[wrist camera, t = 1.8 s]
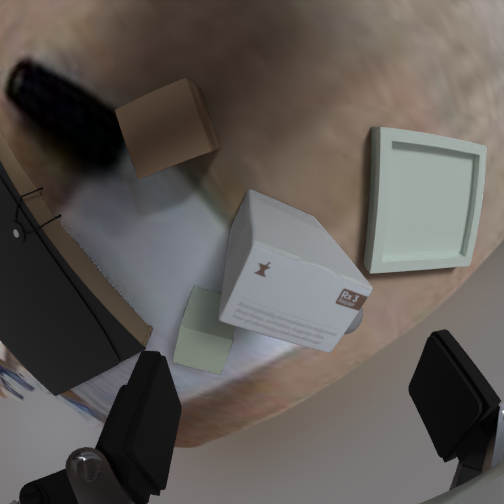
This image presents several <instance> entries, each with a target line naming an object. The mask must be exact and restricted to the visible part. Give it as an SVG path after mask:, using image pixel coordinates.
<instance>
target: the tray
mask: <svg viewBox="0 0 504 504" xmlns="http://www.w3.org/2000/svg"><path fill="white" fill-rule="evenodd" d="M486 151H487V146H484V145H480V144H476V143H472V142H468V141H463V140H459V139H454V138H449V137H444V136H439V135H434V134H428V133H422V132H416V131H409V130H402V129H394V128H386V127H371V179H370V198H369V212H368V225H367V235H366V245H365V254H364V262H363V265H364V266H365V268H366V269H367V270H368V271H369V273H370V274H372V273H387V272H400V271H414V270H426V269H438V268H449V267H460V266H470V263H471V259H472V254H473V250H474V246H475V241H476V236H477V231H478V225H479V219H480V213H481V206H482V199H483V191H484V181H485V169H486Z"/></svg>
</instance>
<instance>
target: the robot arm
mask: <svg viewBox="0 0 504 504" xmlns="http://www.w3.org/2000/svg"><path fill="white" fill-rule="evenodd" d="M409 394H410V396H411V398H412V400H413V402H414V404H415V406H416V408H417V410H418V412H419V414H420V416H421V418H422V420H423V423H424V424H425V427H426V429H427V431H428V433H429V435H430V437H431V440H432V442H433V444H434V447H435V449H436V451H437V453H438V455H439V456H440V457H441V458H443V460H444V462H447V461H450V460H452V459H454V458H456V457H458V459H459V462H458V465H457V469H456V472H455V475H454V478H453V481H452V484H451V486H450V489H449V491H448V492H445V493H443V494H441V495H439V496H437V497H434V498H432V499H430V500H427V501H425V502H422V503H420V504H504V404H503V405H502V406H501V407H500V406H499V403H500V402H501V400H500V398H499V397H498V396H497V394H496V393H495V391H494V390H493V388H492V387H491V386H490V384H489V383H488V381H487V380H486V379H485V377H484V376H483V375H482V373H481V372H480V370H479V369H478V368H477V366H476V365H475V364H474V363H473V361H472V360H471V359H470V358H469V356H468V355H467V353H466V352H465V351H464V350H463V348H462V347H461V346H460V345H459V343H458V342H457V341H456V340H455V338H454V337H453V336H452V335H451V334H450V332H449V331H448V330H445V329H444V330H440V331H435V332H432V333H431V335H430V337H428V339H427V341H426V344H425V347H424V349H423V352H422V355H421V357H420V360H419V363H418V365H417V368H416V370H415V373H414V375H413V377H412V379H411V382H410V385H409ZM180 416H181V403H180V400H179V398H178V395H177V392H176V389H175V386H174V382H173V379H172V376H171V373H170V370H169V366H168V363H167V360H166V357H165V356H161V354H160V352H158V351H142V352H141V354H140V356H139V358H138V361H137V363H136V365H135V367H134V370H133V372H132V374H131V377H130V379H129V381H128V384H127V385H123V386H122V387H121V388H120V390H119V392H118V394H117V396H116V399H115V401H114V403H113V406H112V408H111V410H110V413H109V415H108V418H107V420H106V422H105V425H104V427H103V430H102V432H101V435H100V437H99V440H98V443H97V445H96V447H95V449H94V448H89V447H84V448H79V449H77V450H75V451H73V452H72V453H71V454H70V455H69V457H68V459H67V461H66V469H63V470H61V471H59V472H56V473H53V474H51V475H48V476H46V477H43V478H40V479H38V480H35V481H32V482H29V483H27V484H26V485H24V487H23V488H22V489H21V491H20V496H19V501H18V502H17V501H16V500H14V501H12V502H11V503H10V504H147V503H148V502H149V497H150V494H152V495H157V496H159V495H160V490H165V488H166V484H167V479H168V474H169V469H170V464H171V459H172V454H173V449H174V444H175V439H176V434H177V430H178V425H179V420H180Z"/></svg>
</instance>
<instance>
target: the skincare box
mask: <svg viewBox="0 0 504 504" xmlns="http://www.w3.org/2000/svg"><path fill="white" fill-rule="evenodd" d="M371 292H372V286H371V285H370V284H369V282H368V281H367V280H366V278H365V277H364V276H363V275H362V273H361V272H360V271H359V269H358V268H357V267H356V266H355V265H354V263H353V262H352V261H351V260H350V258H349V257H348V256H347V255H346V254H345V252H344V251H343V250H342V249H341V248H340V246H339V245H338V244H337V243H336V242H335V241H334V239H333V238H332V237H331V236H330V235H329V233H328V232H327V231H326V230H325V229H324V228H323V226H322V225H321V224H320V223H319V222H318V221H317V220H316V218H315V217H314V216H312V215H309V214H307V213H305V212H303V211H300V210H298V209H296V208H294V207H291V206H289V205H287V204H285V203H282V202H280V201H278V200H275V199H273V198H271V197H268V196H266V195H264V194H261V193H259V192H257V191H254V190H251V189H248V190H247V192H246V194H245V197H244V199H243V201H242V203H241V206H240V208H239V210H238V213H237V215H236V217H235V220H234V222H233V225H232V227H231V230H230V232H229V242H228V248H227V255H226V262H225V270H224V276H223V284H222V294H221V301H220V307H219V320H220V321H221V322H224V323H227V324H230V325H234V326H237V327H240V328H244V329H247V330H250V331H253V332H256V333H260V334H263V335H266V336H270V337H273V338H277V339H280V340H284V341H287V342H291V343H294V344H298V345H301V346H305V347H309V348H312V349H316V350H320V351H324V352H327V353H330V352H331V351H332V350H333V348H334V347H335V345H336V344H337V343H338V341H339V340H340V339H341V337H342V336H343V334H344V333H345V332H346V330H347V329H348V327H349V326H350V324H351V323H352V321H353V320H354V318H355V317H356V315H357V314H358V312H359V310H360V309H361V307H362V306H363V304H364V303H365V301H366V299H367V298H368V296H369V295H370V293H371Z"/></svg>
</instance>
